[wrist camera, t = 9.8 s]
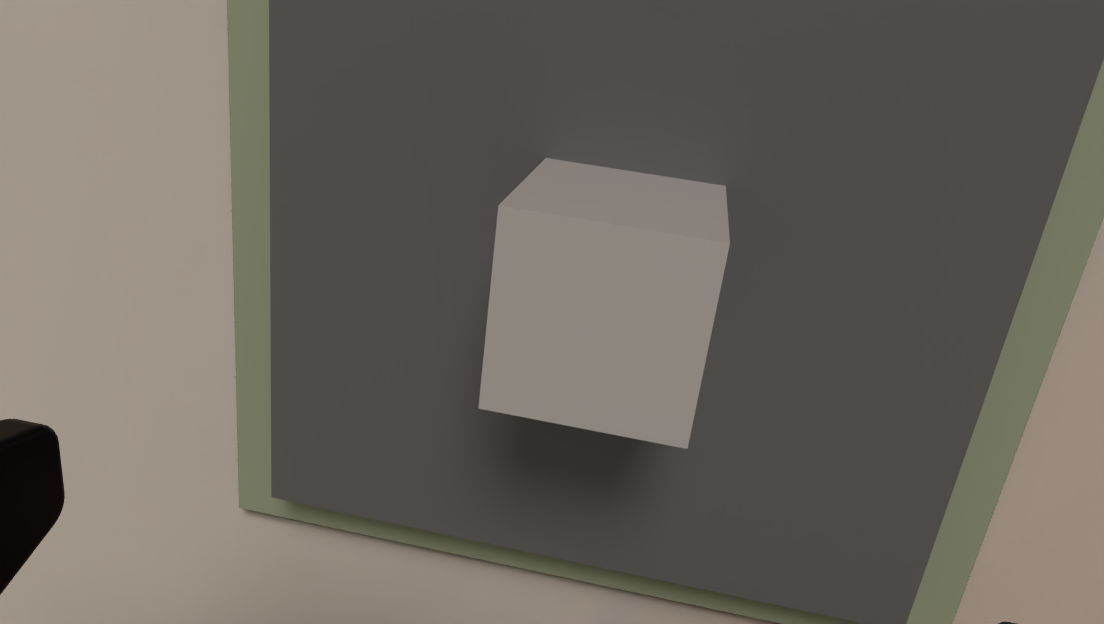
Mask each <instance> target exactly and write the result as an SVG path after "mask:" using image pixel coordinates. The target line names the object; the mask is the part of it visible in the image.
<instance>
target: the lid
mask: <svg viewBox="0 0 1104 624" xmlns="http://www.w3.org/2000/svg"><path fill="white" fill-rule="evenodd" d="M1103 59H1104V0H269V114H270V319H271V497H272V498H277V499H282V500H286V501H291V502H296V503H300V504H305V505H310V506H315V507H319V508H324V509H329V510H333V511H338V512H343V513H347V514H352V515H357V516H362V517H366V518H371V519H376V520H380V521H385V522H390V523H394V524H399V525H404V526H408V527H413V528H418V529H423V530H427V531H432V532H437V533H441V534H446V535H451V536H455V537H460V538H465V539H470V540H474V541H479V542H484V543H488V544H493V545H498V546H502V547H507V548H512V549H517V550H521V551H526V552H531V553H535V554H540V555H545V556H549V557H554V558H559V559H563V560H568V561H573V562H578V563H582V564H587V565H592V566H596V567H601V568H606V569H610V570H615V571H620V572H625V573H629V574H634V575H639V576H643V577H648V578H653V579H657V580H662V581H667V582H671V583H676V584H681V585H686V586H690V587H695V588H700V589H704V590H709V591H714V592H718V593H723V594H728V595H733V596H737V597H742V598H747V599H751V600H756V601H761V602H765V603H770V604H775V605H779V606H784V607H789V608H794V609H798V610H803V611H808V612H812V613H817V614H822V615H826V616H831V617H836V618H841V619H845V620H850V621H855V622H859V623H864V624H907V621H908V618H909V615H910V612H911V609H912V606H913V603H914V601H915V598H916V595H917V592H918V589H919V586H920V583H921V581H922V578H923V575H924V572H925V569H926V566H927V563H928V561H929V558H930V555H931V552H932V549H933V546H934V543H935V540H936V538H937V535H938V532H939V529H940V526H941V523H942V520H943V518H944V515H945V512H946V509H947V506H948V503H949V500H950V498H951V495H952V492H953V489H954V486H955V483H956V480H957V477H958V475H959V472H960V469H961V466H962V463H963V460H964V457H965V455H966V452H967V449H968V446H969V443H970V440H971V437H972V435H973V432H974V429H975V426H976V423H977V420H978V417H979V414H980V412H981V409H982V406H983V403H984V400H985V397H986V394H987V392H988V389H989V386H990V383H991V380H992V377H993V374H994V372H995V369H996V366H997V363H998V360H999V357H1000V354H1001V352H1002V349H1003V346H1004V343H1005V340H1006V337H1007V334H1008V331H1009V329H1010V326H1011V323H1012V320H1013V317H1014V314H1015V311H1016V309H1017V306H1018V303H1019V300H1020V297H1021V294H1022V291H1023V289H1024V286H1025V283H1026V280H1027V277H1028V274H1029V271H1030V268H1031V266H1032V263H1033V260H1034V257H1035V254H1036V251H1037V248H1038V246H1039V243H1040V240H1041V237H1042V234H1043V231H1044V228H1045V226H1046V223H1047V220H1048V217H1049V214H1050V211H1051V208H1052V205H1053V203H1054V200H1055V197H1056V194H1057V191H1058V188H1059V185H1060V183H1061V180H1062V177H1063V174H1064V171H1065V168H1066V165H1067V163H1068V160H1069V157H1070V154H1071V151H1072V148H1073V145H1074V142H1075V140H1076V137H1077V134H1078V131H1079V128H1080V125H1081V122H1082V120H1083V117H1084V114H1085V111H1086V108H1087V105H1088V102H1089V100H1090V97H1091V94H1092V91H1093V88H1094V85H1095V82H1096V80H1097V77H1098V74H1099V71H1100V68H1101V65H1102V62H1103Z"/></svg>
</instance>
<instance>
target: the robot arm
mask: <svg viewBox="0 0 1104 624" xmlns="http://www.w3.org/2000/svg"><path fill="white" fill-rule="evenodd" d="M63 504H64V485H63V476H62V467H61V458H60V449H59V441H58V437H57V435H56V433H55V432H54V430H53V429H51V428H50V427H49V426H47V425H43V424H38V423H33V422H28V421H23V420H18V419H5V420H0V594H1V593H2V592H3V591H4V589H5V588H6V587H7V585H8V584H9V583H10V581H11V580H12V579H13V577H14V576H15V575H16V574H17V572H18V571H19V570H20V568H21V567H22V566H23V564H24V563H25V562H26V561H27V559H28V558H29V557H30V555H31V554H32V553H33V551H34V550H35V549H36V547H37V546H38V545H39V544H40V542H41V541H42V540H43V538H44V537H45V536H46V534H47V533H48V532H49V531H50V529H51V528H52V527H53V525H54V524H55V522H56V521H57V519H58V517H59V515H60V513H61V511H62V508H63ZM999 624H1016V623H1011V622H1001V623H999Z"/></svg>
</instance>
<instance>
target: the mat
mask: <svg viewBox="0 0 1104 624" xmlns="http://www.w3.org/2000/svg"><path fill="white" fill-rule="evenodd" d="M227 19H228V62H229V104H230V146H231V188H232V230H233V273H234V315H235V357H236V399H237V441H238V483H239V508H243V509H247V510H252V511H257V512H261V513H266V514H271V515H275V516H280V517H285V518H289V519H294V520H299V521H303V522H308V523H313V524H317V525H322V526H327V527H331V528H336V529H341V530H345V531H350V532H355V533H359V534H364V535H369V536H373V537H378V538H383V539H388V540H392V541H397V542H402V543H406V544H411V545H416V546H420V547H425V548H430V549H434V550H439V551H444V552H448V553H453V554H458V555H462V556H467V557H472V558H476V559H481V560H486V561H490V562H495V563H500V564H504V565H509V566H514V567H518V568H523V569H528V570H532V571H537V572H542V573H546V574H551V575H556V576H560V577H565V578H570V579H574V580H579V581H584V582H588V583H593V584H598V585H602V586H607V587H612V588H616V589H621V590H626V591H630V592H635V593H640V594H644V595H649V596H654V597H658V598H663V599H668V600H672V601H677V602H682V603H686V604H691V605H696V606H701V607H705V608H710V609H715V610H719V611H724V612H729V613H733V614H738V615H743V616H747V617H752V618H757V619H761V620H766V621H771V622H775V623H780V624H864V623H859V622H855V621H850V620H845V619H841V618H836V617H831V616H826V615H822V614H817V613H812V612H808V611H803V610H798V609H794V608H789V607H784V606H779V605H775V604H770V603H765V602H761V601H756V600H751V599H747V598H742V597H737V596H733V595H728V594H723V593H718V592H714V591H709V590H704V589H700V588H695V587H690V586H686V585H681V584H676V583H671V582H667V581H662V580H657V579H653V578H648V577H643V576H639V575H634V574H629V573H625V572H620V571H615V570H610V569H606V568H601V567H596V566H592V565H587V564H582V563H578V562H573V561H568V560H563V559H559V558H554V557H549V556H545V555H540V554H535V553H531V552H526V551H521V550H517V549H512V548H507V547H502V546H498V545H493V544H488V543H484V542H479V541H474V540H470V539H465V538H460V537H455V536H451V535H446V534H441V533H437V532H432V531H427V530H423V529H418V528H413V527H408V526H404V525H399V524H394V523H390V522H385V521H380V520H376V519H371V518H366V517H362V516H357V515H352V514H347V513H343V512H338V511H333V510H329V509H324V508H319V507H315V506H310V505H305V504H300V503H296V502H291V501H286V500H282V499H277V498H272V497H271V319H270V114H269V0H227ZM1103 217H1104V59H1103V62H1102V65H1101V68H1100V71H1099V74H1098V77H1097V80H1096V82H1095V85H1094V88H1093V91H1092V94H1091V97H1090V100H1089V102H1088V105H1087V108H1086V111H1085V114H1084V117H1083V120H1082V122H1081V125H1080V128H1079V131H1078V134H1077V137H1076V140H1075V142H1074V145H1073V148H1072V151H1071V154H1070V157H1069V160H1068V163H1067V165H1066V168H1065V171H1064V174H1063V177H1062V180H1061V183H1060V185H1059V188H1058V191H1057V194H1056V197H1055V200H1054V203H1053V205H1052V208H1051V211H1050V214H1049V217H1048V220H1047V223H1046V226H1045V228H1044V231H1043V234H1042V237H1041V240H1040V243H1039V246H1038V248H1037V251H1036V254H1035V257H1034V260H1033V263H1032V266H1031V268H1030V271H1029V274H1028V277H1027V280H1026V283H1025V286H1024V289H1023V291H1022V294H1021V297H1020V300H1019V303H1018V306H1017V309H1016V311H1015V314H1014V317H1013V320H1012V323H1011V326H1010V329H1009V331H1008V334H1007V337H1006V340H1005V343H1004V346H1003V349H1002V352H1001V354H1000V357H999V360H998V363H997V366H996V369H995V372H994V374H993V377H992V380H991V383H990V386H989V389H988V392H987V394H986V397H985V400H984V403H983V406H982V409H981V412H980V414H979V417H978V420H977V423H976V426H975V429H974V432H973V435H972V437H971V440H970V443H969V446H968V449H967V452H966V455H965V457H964V460H963V463H962V466H961V469H960V472H959V475H958V477H957V480H956V483H955V486H954V489H953V492H952V495H951V498H950V500H949V503H948V506H947V509H946V512H945V515H944V518H943V520H942V523H941V526H940V529H939V532H938V535H937V538H936V540H935V543H934V546H933V549H932V552H931V555H930V558H929V561H928V563H927V566H926V569H925V572H924V575H923V578H922V581H921V583H920V586H919V589H918V592H917V595H916V598H915V601H914V603H913V606H912V609H911V612H910V615H909V618H908V621H907V624H952V623H953V620H954V617H955V614H956V612H957V609H958V606H959V604H960V601H961V598H962V596H963V593H964V590H965V588H966V585H967V582H968V580H969V577H970V574H971V572H972V569H973V566H974V563H975V561H976V558H977V555H978V553H979V550H980V547H981V545H982V542H983V539H984V537H985V534H986V531H987V529H988V526H989V523H990V520H991V518H992V515H993V512H994V510H995V507H996V504H997V502H998V499H999V496H1000V494H1001V491H1002V488H1003V486H1004V483H1005V480H1006V478H1007V475H1008V472H1009V469H1010V467H1011V464H1012V461H1013V459H1014V456H1015V453H1016V451H1017V448H1018V445H1019V443H1020V440H1021V437H1022V435H1023V432H1024V429H1025V426H1026V424H1027V421H1028V418H1029V416H1030V413H1031V410H1032V408H1033V405H1034V402H1035V400H1036V397H1037V394H1038V392H1039V389H1040V386H1041V384H1042V381H1043V378H1044V375H1045V373H1046V370H1047V367H1048V365H1049V362H1050V359H1051V357H1052V354H1053V351H1054V349H1055V346H1056V343H1057V341H1058V338H1059V335H1060V332H1061V330H1062V327H1063V324H1064V322H1065V319H1066V316H1067V314H1068V311H1069V308H1070V306H1071V303H1072V300H1073V298H1074V295H1075V292H1076V290H1077V287H1078V284H1079V281H1080V279H1081V276H1082V273H1083V271H1084V268H1085V265H1086V263H1087V260H1088V257H1089V255H1090V252H1091V249H1092V247H1093V244H1094V241H1095V238H1096V236H1097V233H1098V230H1099V228H1100V225H1101V222H1102V220H1103Z"/></svg>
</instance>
